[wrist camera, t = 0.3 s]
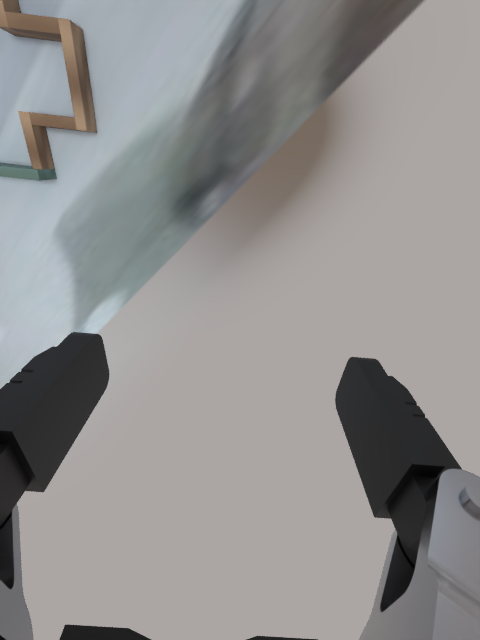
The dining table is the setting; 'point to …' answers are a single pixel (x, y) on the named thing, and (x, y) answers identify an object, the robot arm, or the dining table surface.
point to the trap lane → (6, 15)
